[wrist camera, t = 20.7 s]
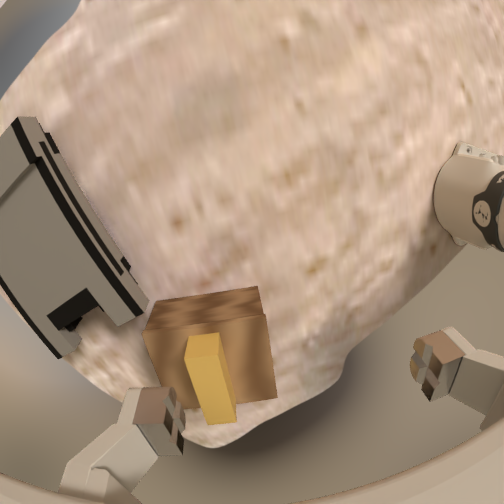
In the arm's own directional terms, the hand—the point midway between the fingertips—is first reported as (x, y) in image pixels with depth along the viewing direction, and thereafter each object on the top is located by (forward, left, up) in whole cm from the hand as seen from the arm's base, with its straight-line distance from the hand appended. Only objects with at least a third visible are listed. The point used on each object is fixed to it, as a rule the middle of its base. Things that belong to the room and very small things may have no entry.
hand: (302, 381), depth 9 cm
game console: (+31, +1, -35) cm, 47 cm away
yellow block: (+8, +21, -25) cm, 33 cm away
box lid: (+8, +21, -26) cm, 34 cm away
